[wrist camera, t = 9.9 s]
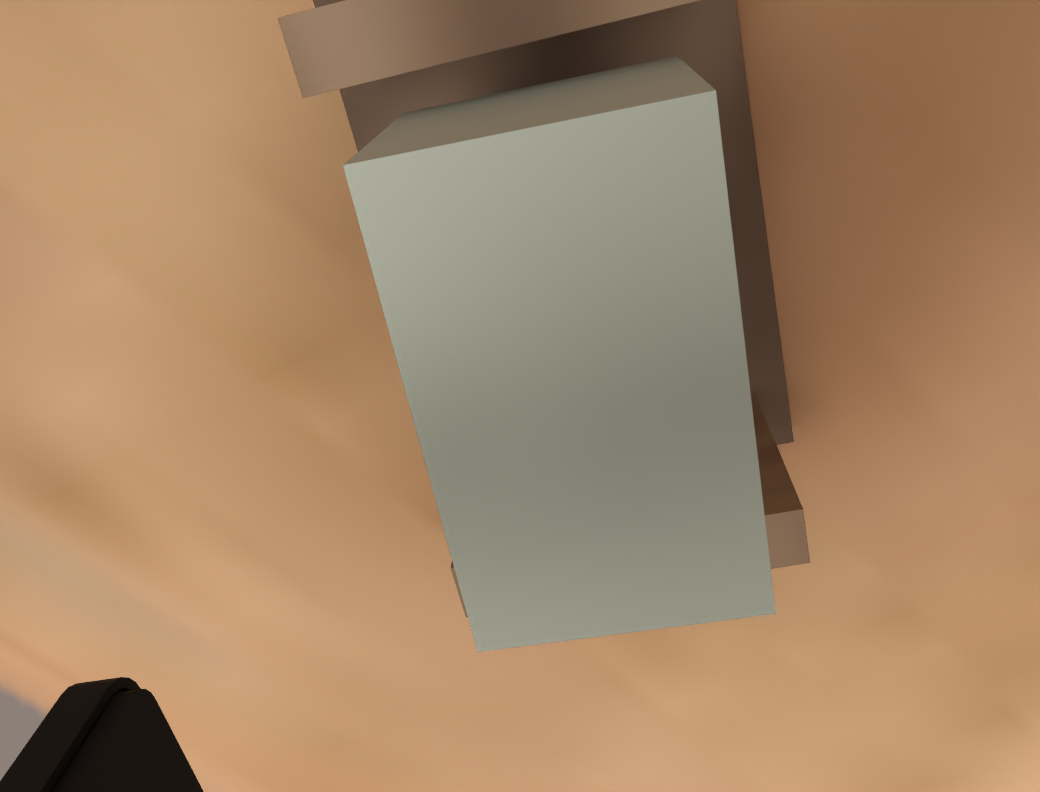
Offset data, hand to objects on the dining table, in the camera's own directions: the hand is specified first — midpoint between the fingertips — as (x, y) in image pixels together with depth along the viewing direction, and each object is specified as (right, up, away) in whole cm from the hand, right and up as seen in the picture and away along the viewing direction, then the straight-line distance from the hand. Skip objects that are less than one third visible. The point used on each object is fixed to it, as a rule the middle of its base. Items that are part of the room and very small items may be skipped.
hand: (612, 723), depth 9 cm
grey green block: (0, +5, +13) cm, 14 cm away
